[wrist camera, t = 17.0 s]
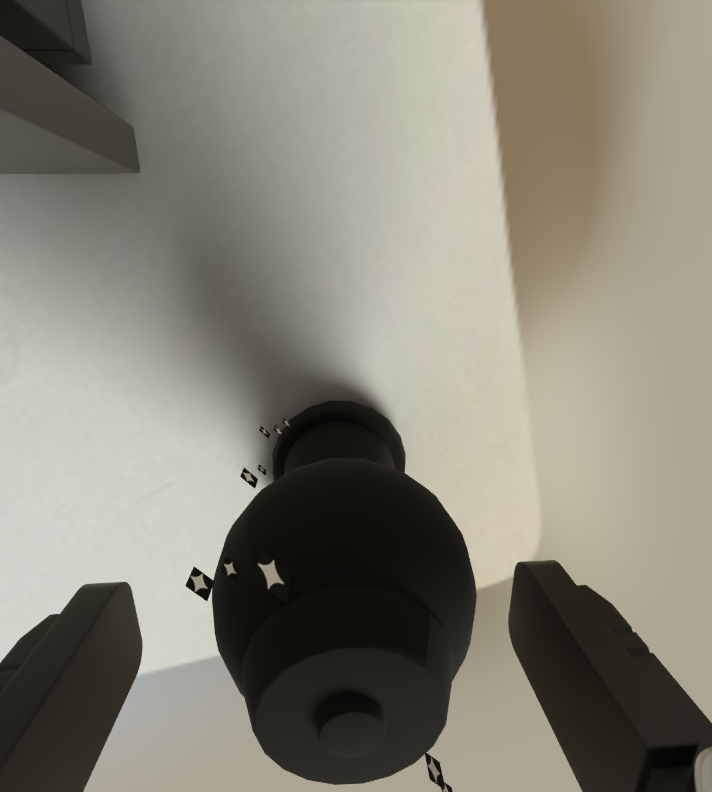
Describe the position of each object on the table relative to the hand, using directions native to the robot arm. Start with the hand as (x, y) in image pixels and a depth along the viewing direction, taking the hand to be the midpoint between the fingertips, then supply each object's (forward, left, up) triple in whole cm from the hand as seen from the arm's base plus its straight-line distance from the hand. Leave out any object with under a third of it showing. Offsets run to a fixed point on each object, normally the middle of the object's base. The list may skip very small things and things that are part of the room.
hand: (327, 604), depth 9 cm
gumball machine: (0, 0, -8) cm, 8 cm away
